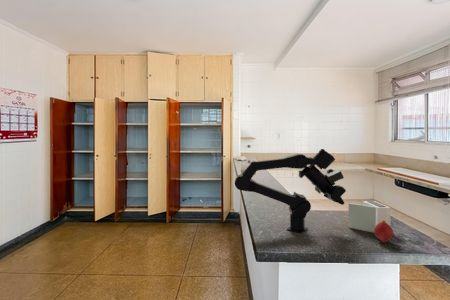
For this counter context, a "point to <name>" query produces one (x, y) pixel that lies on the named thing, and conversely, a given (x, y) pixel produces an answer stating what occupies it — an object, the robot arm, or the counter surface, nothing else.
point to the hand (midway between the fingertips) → (343, 203)
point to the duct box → (380, 211)
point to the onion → (383, 231)
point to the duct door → (362, 217)
